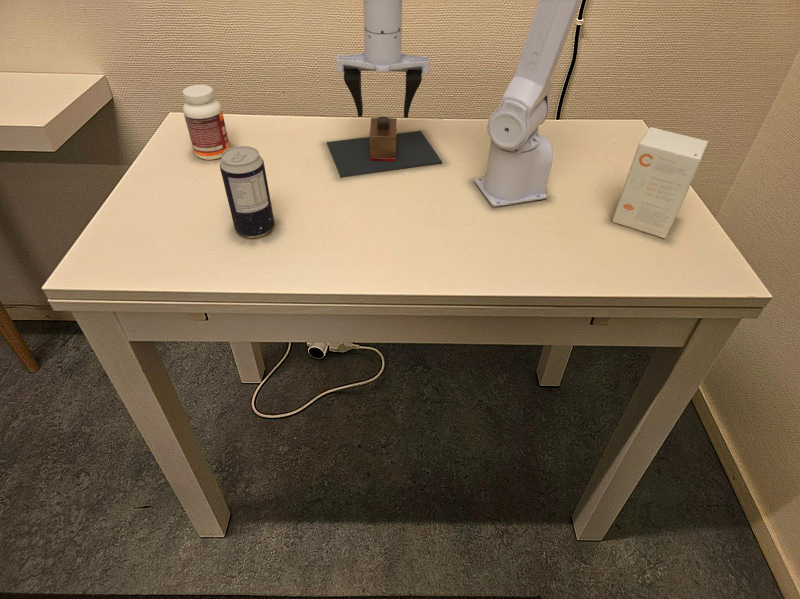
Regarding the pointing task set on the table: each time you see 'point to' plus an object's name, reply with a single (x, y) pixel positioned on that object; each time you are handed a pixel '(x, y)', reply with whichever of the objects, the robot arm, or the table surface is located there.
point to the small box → (658, 181)
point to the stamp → (383, 139)
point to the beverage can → (247, 191)
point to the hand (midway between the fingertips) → (383, 114)
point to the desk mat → (356, 161)
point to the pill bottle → (205, 122)
